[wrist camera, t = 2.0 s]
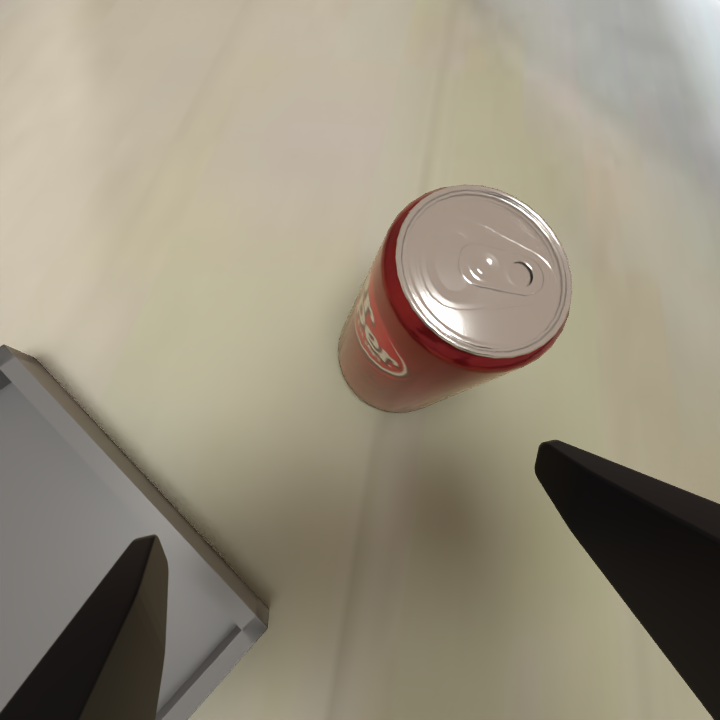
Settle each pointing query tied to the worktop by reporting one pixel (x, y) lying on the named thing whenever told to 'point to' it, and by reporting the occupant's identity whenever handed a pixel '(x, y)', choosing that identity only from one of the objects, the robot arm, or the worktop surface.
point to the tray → (100, 544)
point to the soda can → (455, 299)
